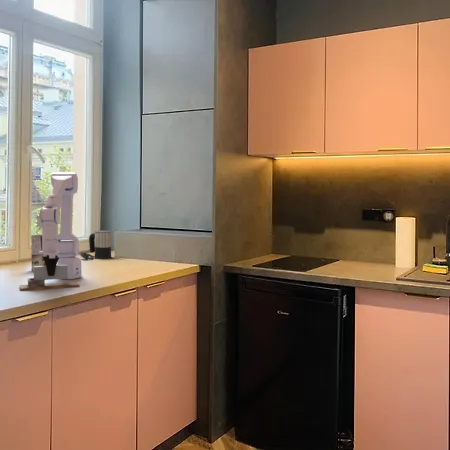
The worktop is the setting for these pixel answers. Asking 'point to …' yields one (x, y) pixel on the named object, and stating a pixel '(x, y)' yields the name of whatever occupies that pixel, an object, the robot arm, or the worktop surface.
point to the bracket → (46, 285)
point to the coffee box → (36, 251)
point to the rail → (42, 274)
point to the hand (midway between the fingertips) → (50, 275)
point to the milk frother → (99, 245)
